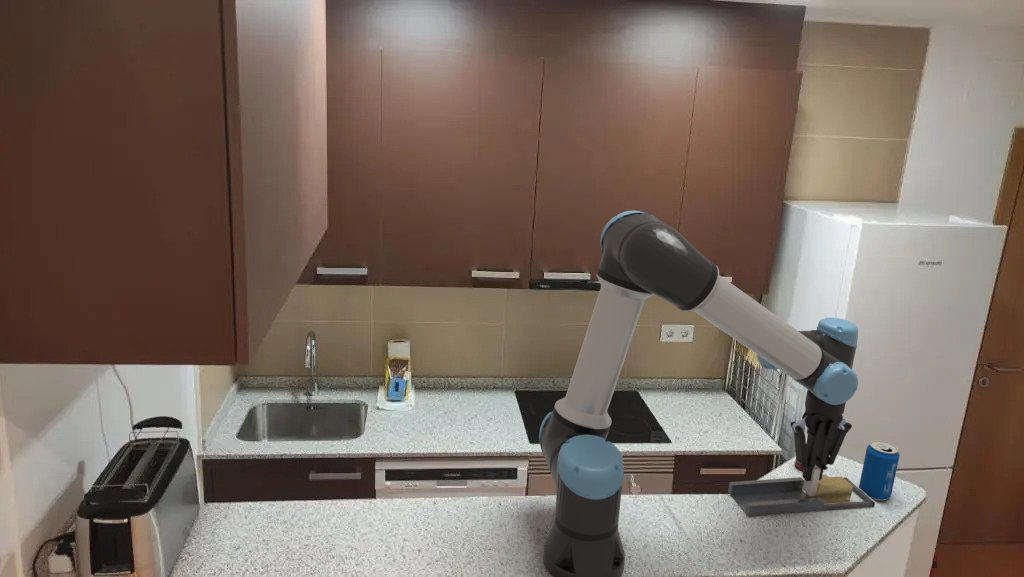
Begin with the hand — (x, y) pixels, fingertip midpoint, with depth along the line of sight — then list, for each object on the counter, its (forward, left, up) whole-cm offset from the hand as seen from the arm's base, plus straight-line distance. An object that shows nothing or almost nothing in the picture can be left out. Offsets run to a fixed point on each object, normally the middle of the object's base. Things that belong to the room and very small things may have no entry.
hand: (809, 492), depth 153 cm
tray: (+7, +1, -3) cm, 7 cm away
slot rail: (-8, 0, -3) cm, 8 cm away
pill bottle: (+7, +12, -3) cm, 14 cm away
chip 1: (+3, 0, -2) cm, 3 cm away
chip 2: (+7, 0, -2) cm, 7 cm away
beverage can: (+18, +2, -3) cm, 18 cm away
